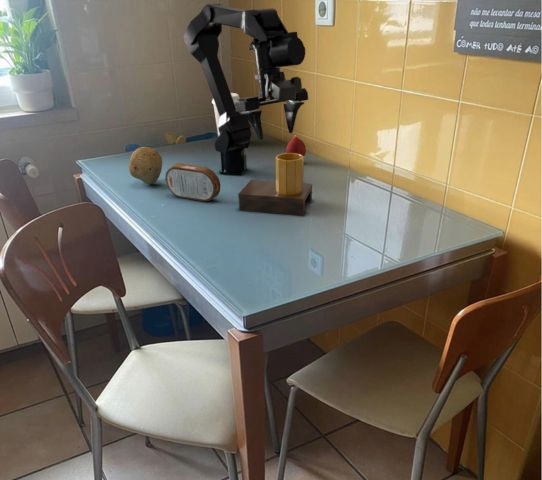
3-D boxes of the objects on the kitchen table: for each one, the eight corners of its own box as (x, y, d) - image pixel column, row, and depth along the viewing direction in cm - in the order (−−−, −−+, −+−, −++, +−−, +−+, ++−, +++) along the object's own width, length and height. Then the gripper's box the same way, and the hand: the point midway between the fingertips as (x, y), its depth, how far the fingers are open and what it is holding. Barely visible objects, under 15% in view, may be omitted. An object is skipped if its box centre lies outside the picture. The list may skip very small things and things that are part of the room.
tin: (222, 200, 138) (219, 167, 133) (216, 204, 136) (213, 171, 131) (172, 192, 144) (168, 160, 139) (165, 196, 141) (161, 164, 136)
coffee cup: (211, 146, 180) (208, 97, 171) (218, 139, 188) (215, 92, 179) (239, 147, 179) (237, 98, 170) (245, 140, 186) (243, 92, 178)
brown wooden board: (239, 210, 132) (238, 193, 130) (251, 195, 141) (251, 179, 139) (303, 216, 129) (303, 198, 127) (311, 200, 138) (312, 183, 135)
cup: (273, 194, 130) (272, 160, 125) (280, 185, 135) (279, 152, 130) (299, 196, 128) (300, 161, 124) (305, 186, 133) (305, 153, 129)
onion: (305, 160, 166) (306, 132, 162) (305, 165, 161) (305, 137, 157) (287, 159, 167) (287, 132, 162) (285, 165, 162) (285, 137, 157)
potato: (134, 191, 145) (128, 153, 139) (129, 181, 152) (122, 144, 146) (168, 186, 148) (163, 149, 142) (161, 177, 154) (156, 141, 149)
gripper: (252, 72, 122) (262, 144, 130) (318, 61, 130) (324, 130, 137) (229, 74, 131) (239, 142, 138) (292, 64, 139) (298, 129, 146)
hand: (276, 136), depth 140 cm, fingers open, 9 cm apart
